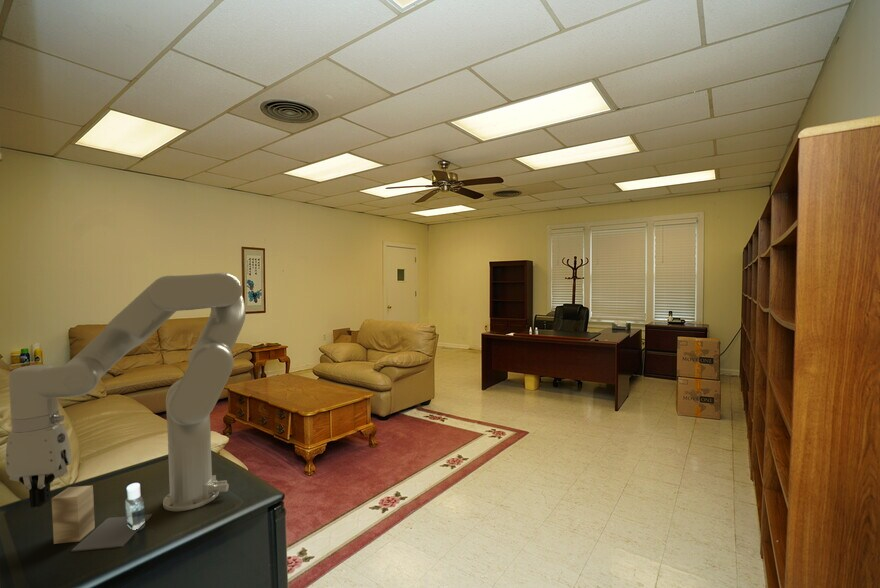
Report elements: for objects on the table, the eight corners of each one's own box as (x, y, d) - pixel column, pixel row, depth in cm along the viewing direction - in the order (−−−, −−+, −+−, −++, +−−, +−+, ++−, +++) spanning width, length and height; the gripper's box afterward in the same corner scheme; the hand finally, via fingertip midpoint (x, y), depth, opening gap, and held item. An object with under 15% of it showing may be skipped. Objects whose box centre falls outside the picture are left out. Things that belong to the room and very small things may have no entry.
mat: (152, 515, 101) (152, 514, 101) (122, 546, 89) (122, 545, 89) (107, 519, 100) (107, 517, 100) (71, 551, 88) (71, 550, 88)
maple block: (94, 528, 96) (92, 485, 96) (79, 541, 91) (77, 496, 91) (70, 530, 95) (68, 487, 95) (53, 544, 91) (51, 498, 90)
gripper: (85, 414, 96) (89, 492, 97) (12, 418, 94) (16, 498, 95) (61, 425, 89) (65, 510, 90) (-20, 430, 87) (-14, 516, 87)
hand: (40, 503), depth 92 cm, fingers closed
